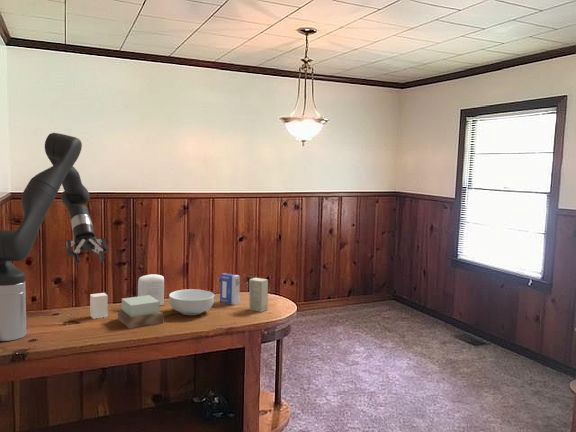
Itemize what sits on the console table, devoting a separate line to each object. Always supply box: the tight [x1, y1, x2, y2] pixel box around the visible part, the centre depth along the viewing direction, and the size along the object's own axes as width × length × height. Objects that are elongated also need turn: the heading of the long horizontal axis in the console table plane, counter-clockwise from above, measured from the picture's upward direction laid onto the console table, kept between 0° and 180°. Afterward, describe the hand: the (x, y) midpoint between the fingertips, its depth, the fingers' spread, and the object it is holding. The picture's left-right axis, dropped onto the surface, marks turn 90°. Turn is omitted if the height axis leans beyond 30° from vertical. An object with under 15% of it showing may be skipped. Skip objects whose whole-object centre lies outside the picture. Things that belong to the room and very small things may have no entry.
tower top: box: [121, 295, 161, 317], centre depth 172 cm, size 10×10×4 cm
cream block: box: [89, 292, 109, 320], centre depth 176 cm, size 5×4×8 cm
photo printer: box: [137, 273, 165, 306], centre depth 192 cm, size 10×4×12 cm, turn 123°
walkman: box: [219, 272, 241, 306], centre depth 200 cm, size 8×3×12 cm, turn 60°
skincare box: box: [248, 277, 269, 313], centre depth 191 cm, size 6×4×12 cm
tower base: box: [117, 308, 164, 329], centre depth 172 cm, size 12×12×4 cm
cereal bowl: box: [168, 288, 215, 316], centre depth 185 cm, size 17×17×7 cm
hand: (90, 262), depth 184 cm, fingers open, 8 cm apart
